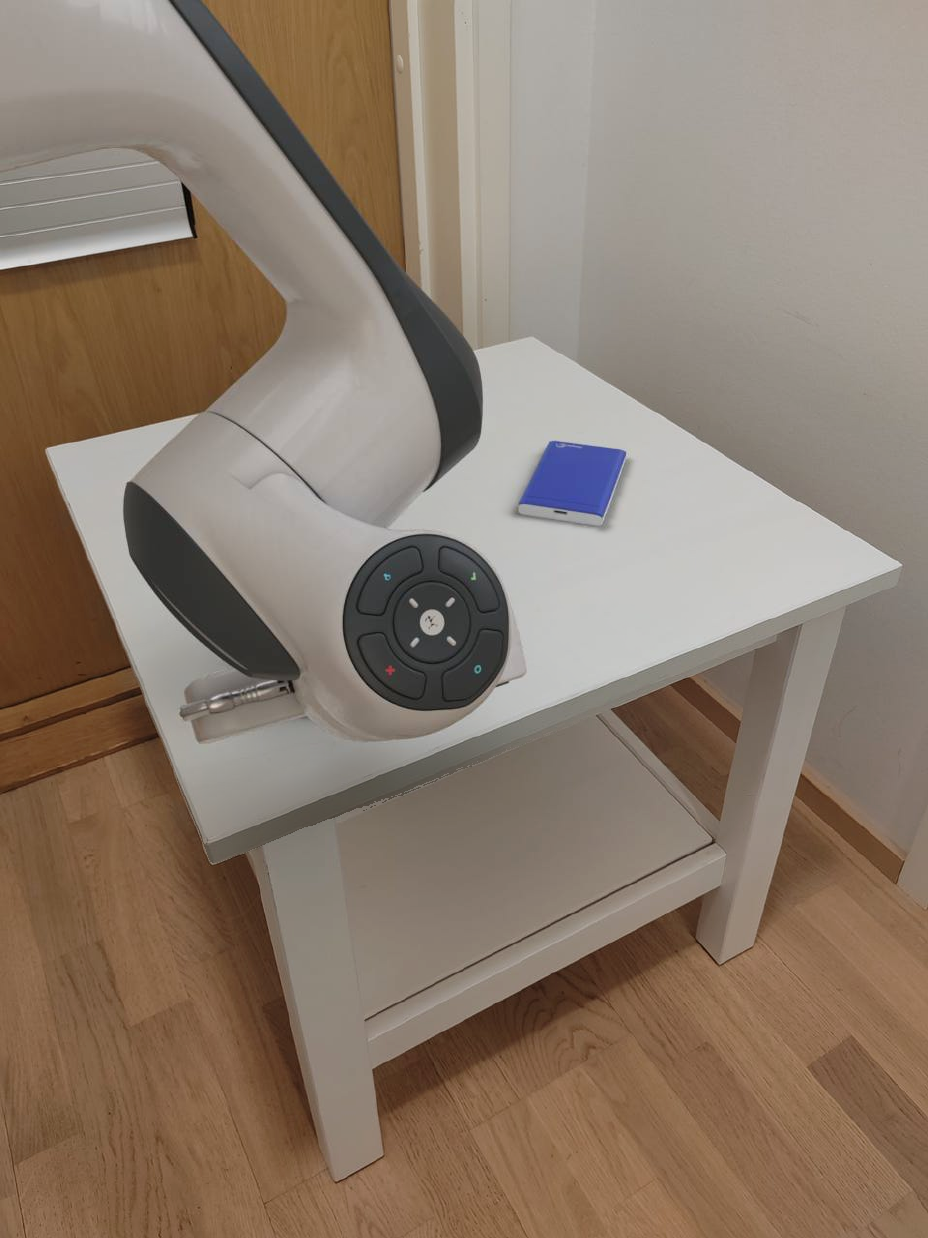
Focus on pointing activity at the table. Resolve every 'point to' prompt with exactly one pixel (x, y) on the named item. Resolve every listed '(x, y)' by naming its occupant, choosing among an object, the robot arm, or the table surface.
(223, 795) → the table surface
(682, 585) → the table surface
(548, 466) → the hard drive
